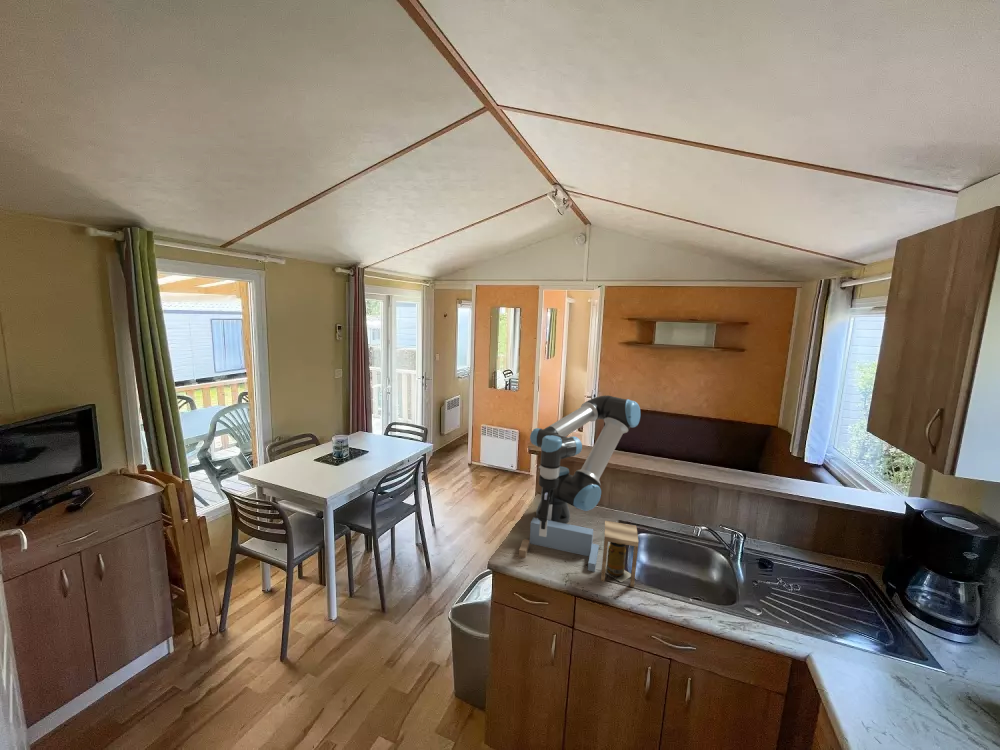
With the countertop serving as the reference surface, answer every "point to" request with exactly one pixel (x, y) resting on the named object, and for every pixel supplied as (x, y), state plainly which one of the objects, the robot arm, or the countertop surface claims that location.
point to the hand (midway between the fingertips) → (545, 527)
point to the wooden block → (524, 548)
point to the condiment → (617, 562)
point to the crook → (566, 539)
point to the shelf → (622, 536)
